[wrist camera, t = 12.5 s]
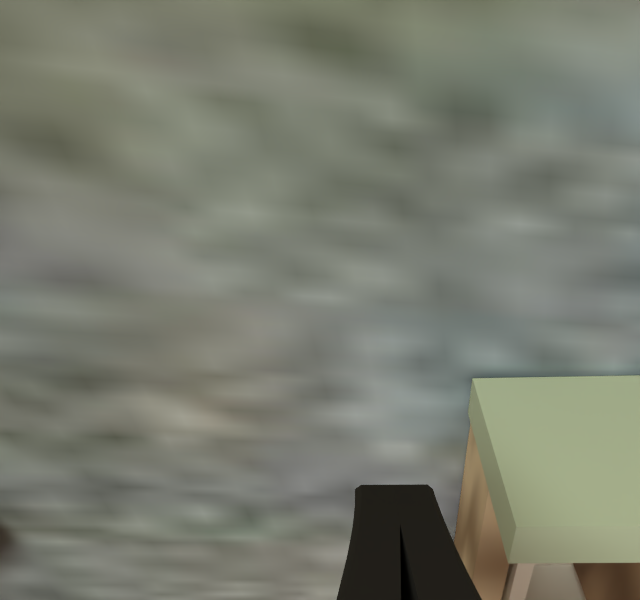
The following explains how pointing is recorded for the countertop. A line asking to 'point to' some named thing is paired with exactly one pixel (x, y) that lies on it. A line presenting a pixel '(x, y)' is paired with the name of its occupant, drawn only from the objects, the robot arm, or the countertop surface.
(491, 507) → the organiser frame
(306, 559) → the countertop surface
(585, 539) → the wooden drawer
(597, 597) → the walnut block
